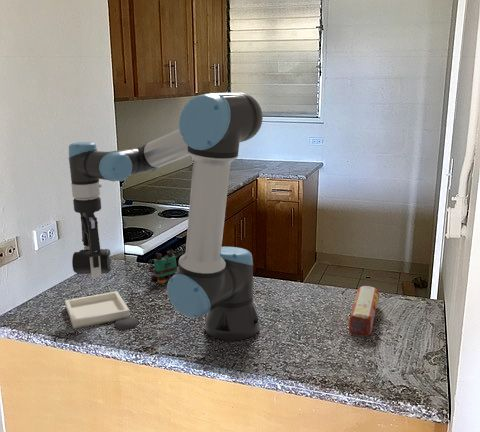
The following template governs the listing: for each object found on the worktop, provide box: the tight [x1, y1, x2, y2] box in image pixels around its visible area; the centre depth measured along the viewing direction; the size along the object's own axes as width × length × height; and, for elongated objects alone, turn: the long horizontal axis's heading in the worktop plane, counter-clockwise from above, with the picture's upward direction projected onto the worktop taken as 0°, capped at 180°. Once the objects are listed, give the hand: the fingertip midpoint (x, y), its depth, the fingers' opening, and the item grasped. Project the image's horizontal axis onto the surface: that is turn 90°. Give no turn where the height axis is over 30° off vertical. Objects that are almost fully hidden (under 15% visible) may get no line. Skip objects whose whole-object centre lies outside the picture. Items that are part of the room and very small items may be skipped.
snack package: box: [348, 285, 380, 337], centre depth 149 cm, size 21×7×7 cm, turn 161°
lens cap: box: [114, 317, 139, 331], centre depth 150 cm, size 6×6×1 cm
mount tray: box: [64, 290, 131, 330], centre depth 157 cm, size 16×16×2 cm
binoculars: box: [148, 249, 178, 284], centre depth 183 cm, size 9×11×10 cm
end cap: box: [71, 248, 112, 275], centre depth 154 cm, size 10×7×7 cm
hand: (93, 271), depth 154 cm, fingers closed on end cap, 9 cm apart
